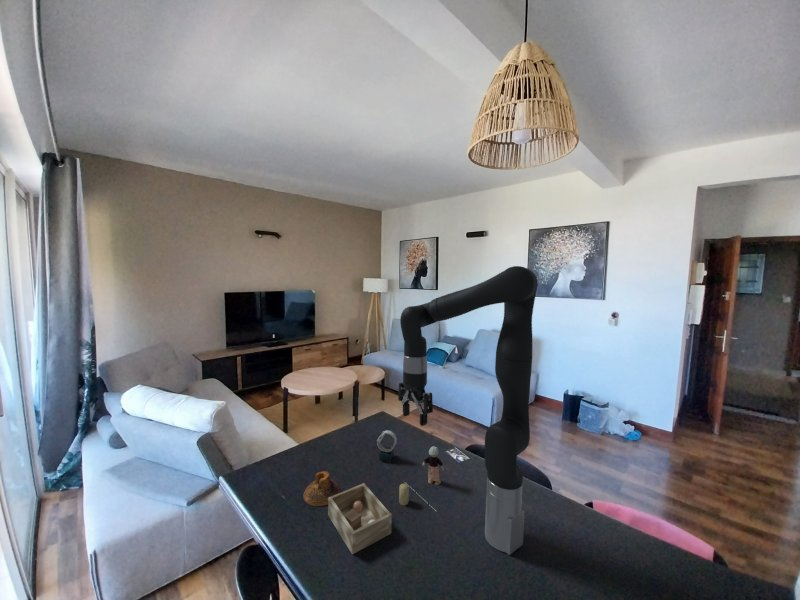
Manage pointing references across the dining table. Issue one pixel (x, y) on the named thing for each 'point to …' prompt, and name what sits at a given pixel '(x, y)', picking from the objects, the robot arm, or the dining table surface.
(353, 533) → the box
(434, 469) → the grandmother figurine
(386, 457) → the watch
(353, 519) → the walnut cube
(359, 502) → the terracotta ball
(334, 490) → the brown rounded piece
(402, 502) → the lid
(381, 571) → the dining table surface
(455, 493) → the dining table surface
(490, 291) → the robot arm
